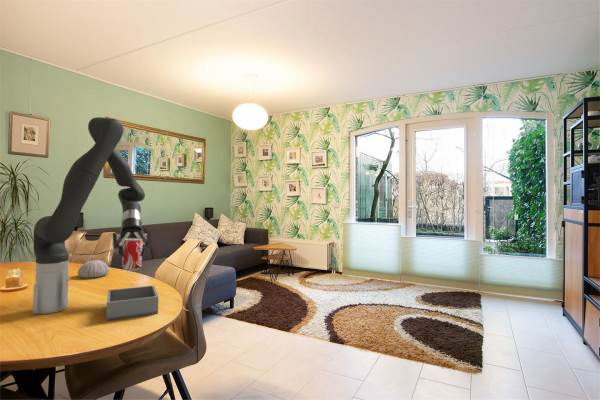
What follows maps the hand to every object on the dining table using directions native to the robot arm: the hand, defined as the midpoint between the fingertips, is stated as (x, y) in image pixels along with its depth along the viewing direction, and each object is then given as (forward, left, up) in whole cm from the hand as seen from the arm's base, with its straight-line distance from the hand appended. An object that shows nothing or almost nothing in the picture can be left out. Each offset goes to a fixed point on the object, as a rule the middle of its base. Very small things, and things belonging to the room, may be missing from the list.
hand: (132, 255), depth 123 cm
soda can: (0, +2, -6) cm, 6 cm away
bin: (0, -11, -18) cm, 21 cm away
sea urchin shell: (-15, +49, -18) cm, 55 cm away
